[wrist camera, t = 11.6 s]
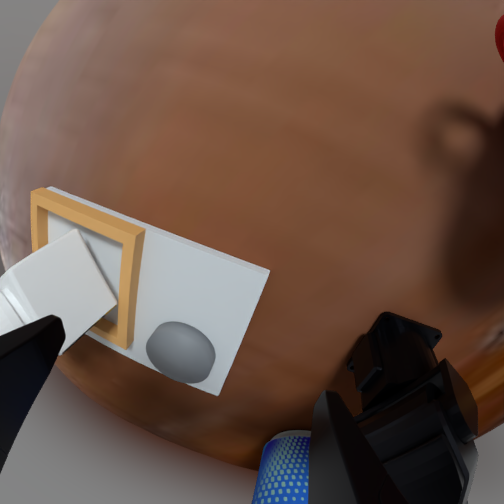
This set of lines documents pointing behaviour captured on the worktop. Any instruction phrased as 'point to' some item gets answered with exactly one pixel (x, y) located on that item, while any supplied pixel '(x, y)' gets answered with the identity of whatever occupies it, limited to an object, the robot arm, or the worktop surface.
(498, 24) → the ceramic cup
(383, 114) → the worktop surface
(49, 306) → the medicine bottle
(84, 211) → the plate with orange frame
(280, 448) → the beer can
